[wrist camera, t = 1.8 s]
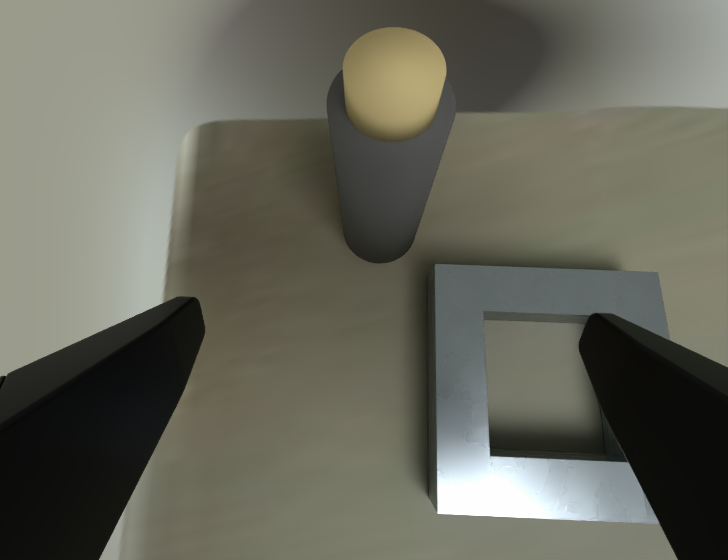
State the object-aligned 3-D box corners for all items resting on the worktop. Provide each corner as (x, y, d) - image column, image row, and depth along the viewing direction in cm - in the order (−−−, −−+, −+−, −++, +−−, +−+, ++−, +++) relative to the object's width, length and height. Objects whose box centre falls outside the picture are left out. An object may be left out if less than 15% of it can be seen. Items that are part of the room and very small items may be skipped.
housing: (661, 508, 19) (703, 526, 17) (428, 497, 20) (437, 513, 17) (626, 284, 23) (658, 272, 20) (427, 276, 23) (434, 263, 20)
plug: (415, 264, 23) (470, 132, 11) (342, 261, 23) (316, 127, 11) (415, 198, 24) (465, 13, 12) (345, 195, 24) (326, 9, 12)
